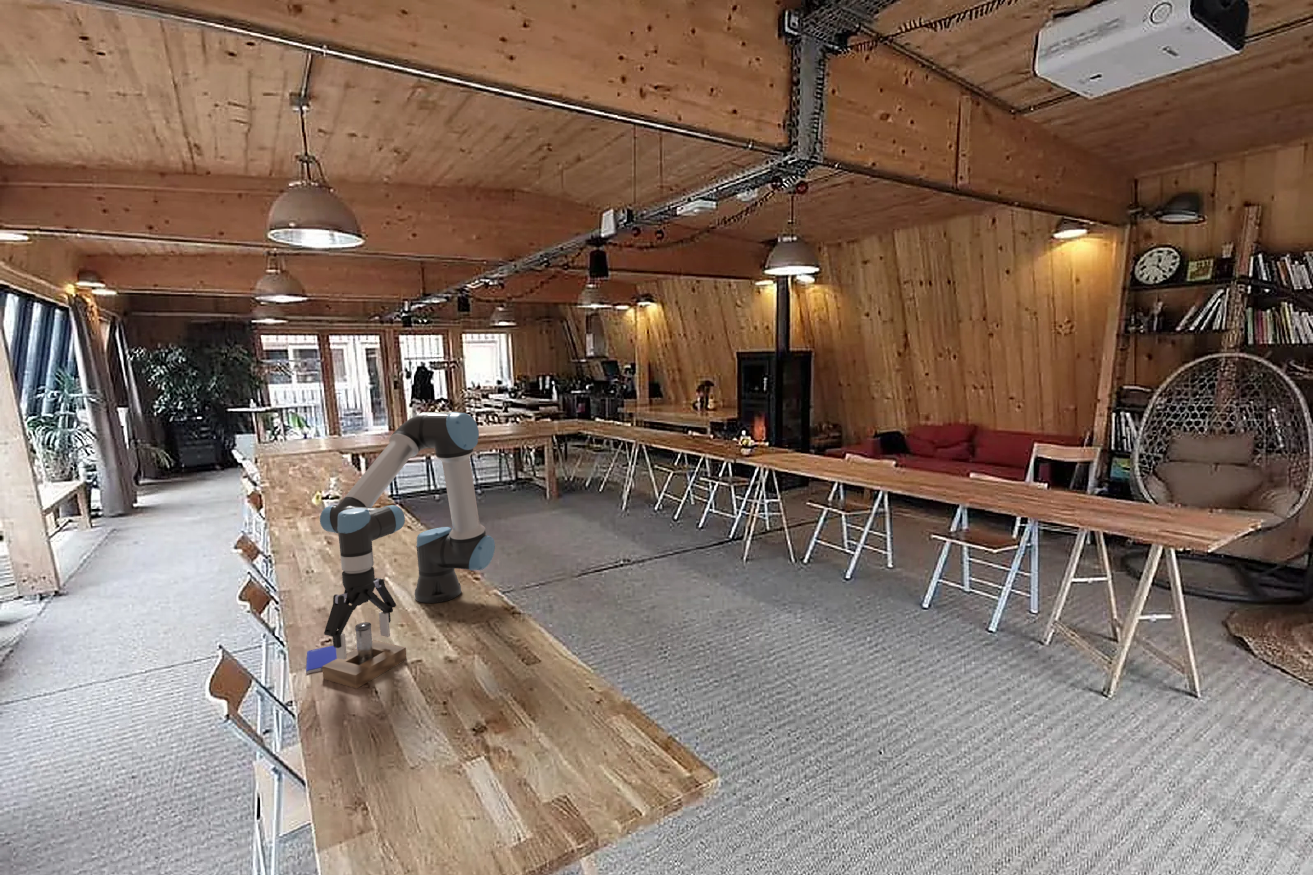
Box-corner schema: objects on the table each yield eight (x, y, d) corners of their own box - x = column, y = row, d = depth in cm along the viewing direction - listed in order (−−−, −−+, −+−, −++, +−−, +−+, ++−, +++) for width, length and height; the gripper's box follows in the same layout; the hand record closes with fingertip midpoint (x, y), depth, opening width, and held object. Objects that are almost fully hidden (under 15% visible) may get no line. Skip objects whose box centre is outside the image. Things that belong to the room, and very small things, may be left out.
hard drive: (306, 650, 171) (305, 670, 160) (339, 643, 174) (340, 662, 164) (307, 656, 171) (306, 676, 160) (340, 649, 175) (341, 668, 164)
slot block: (374, 651, 172) (373, 639, 171) (406, 659, 167) (405, 647, 166) (323, 679, 157) (322, 666, 157) (356, 688, 152) (355, 675, 152)
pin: (367, 664, 164) (364, 621, 163) (377, 666, 163) (374, 623, 161) (355, 670, 161) (352, 626, 159) (365, 673, 159) (362, 629, 158)
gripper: (386, 552, 171) (391, 625, 174) (303, 583, 149) (311, 665, 151) (406, 556, 168) (411, 629, 171) (324, 587, 146) (332, 671, 148)
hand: (364, 646), depth 161 cm, fingers open, 13 cm apart
